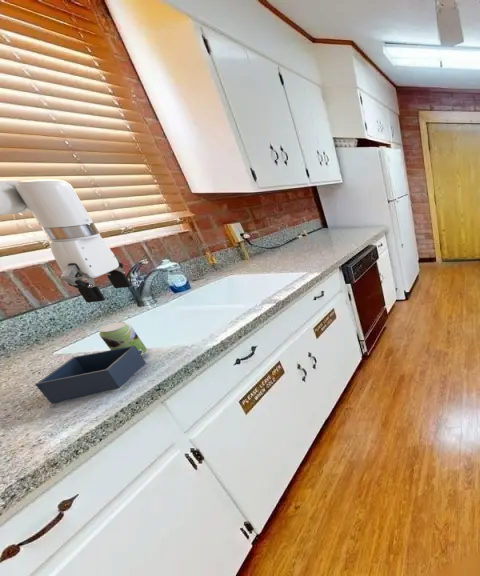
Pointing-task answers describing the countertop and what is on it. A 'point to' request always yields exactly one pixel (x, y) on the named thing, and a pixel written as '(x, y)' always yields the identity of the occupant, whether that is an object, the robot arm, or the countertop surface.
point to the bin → (91, 374)
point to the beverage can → (121, 337)
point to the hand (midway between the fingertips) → (110, 293)
